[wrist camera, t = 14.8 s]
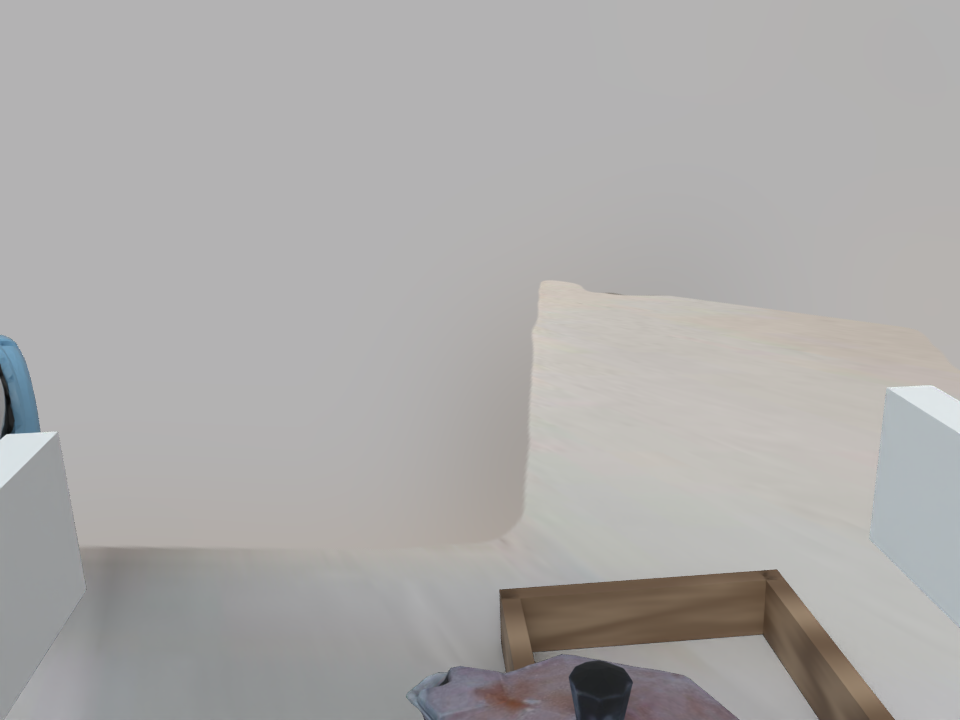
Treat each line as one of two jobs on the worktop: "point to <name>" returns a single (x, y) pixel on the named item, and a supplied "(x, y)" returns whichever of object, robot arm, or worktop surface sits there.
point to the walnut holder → (690, 628)
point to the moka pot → (564, 693)
